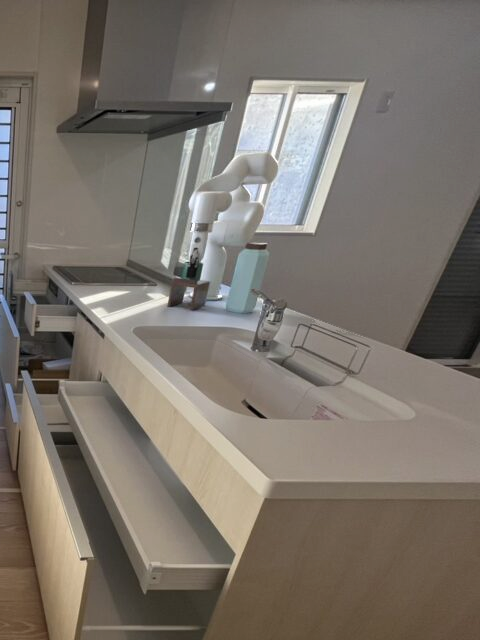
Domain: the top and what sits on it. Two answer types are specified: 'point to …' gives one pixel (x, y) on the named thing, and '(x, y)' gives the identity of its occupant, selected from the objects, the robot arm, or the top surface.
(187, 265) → the pot
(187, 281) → the shelf
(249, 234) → the robot arm
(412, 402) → the top surface
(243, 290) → the water bottle
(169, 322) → the top surface
